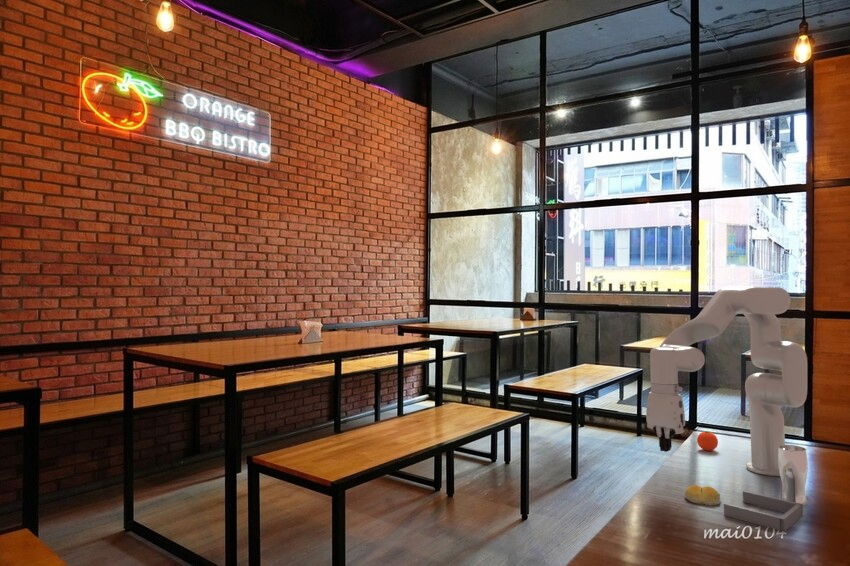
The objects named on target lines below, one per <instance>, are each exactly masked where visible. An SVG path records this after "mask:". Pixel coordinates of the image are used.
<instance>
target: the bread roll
mask: <svg viewBox="0 0 850 566" xmlns="http://www.w3.org/2000/svg"><path fill="white" fill-rule="evenodd" d="M684 497H685V498H686V500H688V501H690V503H691V502H692V503H694V504H697V505H699V504H700V505H704V504H705V506H716V505H719V504H720V503H721V494H720V492H718V490H716V489H715V488H713V487H712V486H704V487H702V486H700V485H696V484H695V485H690V486H688V487H687V488H686V489H685V491H684Z"/></svg>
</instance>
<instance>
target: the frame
mask: <svg viewBox="0 0 850 566" xmlns="http://www.w3.org/2000/svg"><path fill="white" fill-rule="evenodd" d="M742 502H743V503H746V504H749V505H754V506H757V505H758V506H757V507H761V508H766V509H770V510H773V511H777V512H782V513H784V514H783V515H782V516H778V515H774V514H771V513H767V512H763V511H758V510H755V509H751V508H747V507H743V506H739V505H736V504H731V503H727V502H724V503H723V516H725V517H729V518H733V519H737V520H741V521H744V522H747V523H752V524H755V525H758V526H762V527H765V528H766V527H767V528H769V527H771V528H770V529H773V528H774V529H773V530H776V531H781V532H786V531H788V529H789V528H790V527H792V526H793V525H794V524H795V523H796V522H797V521H798V520H799V519H801V518H802V517H803V516H804V514H803V511H804V510H803V506H802V504H800V503H796V502H791V501H787V500H783V499H781V498H778V497H774V496H769V495H765V494H761V493H756V492H753V491H749V490H743V491H742Z"/></svg>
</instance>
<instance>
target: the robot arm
mask: <svg viewBox="0 0 850 566" xmlns="http://www.w3.org/2000/svg"><path fill="white" fill-rule="evenodd" d="M791 301H792V300H791V296H790V293H789V292H788V291H787V290H786V289H784V288H782V287H779V286H769V287H768V286H767V287H766V286H765V287H764V286H763V287H761V286H725V287H722V288H720V289H718V290H717V291H716V292H715V293H714V295H712V297H710V300H708V302H707V303H706V305H705V306H704V307H703V308H702V309H701V311H700V312H699V314H698V315H697V316H696V317H695V318H693V319H691V320H689V321H687V322H686V323H683V324H682V325H680V326H679V327H677V328H676V329H674V330H672V331H671V332H670V333H669V334H668V335H667V336H666V338H665V339H664V340H663V342H662V343H661V344H660V345H659V347H653V348H651V350H650V352H649V355H650V356H649V358H650V359H649V362H650V363H649V365H650V367H649V368H650V371H649V372H650V391H649V392H648V396H647V400H646V401H647V402H646V408H645V409H646V411H645V412H646V413H645V415H646V416H645V417H646V423H647V424H646V427H647V428H648V429H651V430H653V431H654V432H655V434H656V435H657V437H658V443H659V444H658V445H659V450H660V451H661V452H664V453H666V452H669V451H671V450H672V445H673V444H672V438H674V436H675V435H679V434H684V432H685V431H684V427H685V426H686V415H685V405H684V402H683V397H682V394H680V392H681V393H683V391H684V390H683V387H682V386H679V379H678V378H679V374H678V373H679V372H690V373H693V372H696V371H699V370H700V369H702V368H703V366H704V365H705V355H704V353H703V351H701V349H699V348H696V347H693V346H691V345H693V344H696V343H698V342H703V341H707V340H710V339H713V338H716V337H718V336H720V335H722V333H724V331H725V329H726V328H727V327H728V326H729V324H730V323H731V322H732V321H733V319H734V318H735V316H737V315H744V317H745V318H746V320H747V322H748V323H749V328H750V330H749V331H750V360H751V363H752V364H753V366H754V367H757V368H760V369H764V370H772V371H778V372H781V374H774V373H768V372H756V373H752V374H751V375H748V377H747V378H746V379H745V382H744V384H745V385H744V390H745V393H746V397H747V403H748V407H749V424H750V425H749V432H750V455H751V456H750V458H751V461H749V462H747V463H746V464H745V466H746V469H747V470H748V471H750V472H753V473H755V474H759V475H764V476H770V477H771V476H772V477H780V472H779V467H778V446H779V445H786V441H785V440H786V437H785V418H784V417H785V416H784V414H783V411H782V409H781V407H786V408H799V407H802V406H803V405H804V403H805V402H806V400H807V396H808V356H807V353H806V350H805V349H804V347H803V346H801V345H800V344H799V343H797V342H794V341H793V342H792V341H784V340H782V331H781V330H782V329H781V327H782V326H781V323H780V321H779V319H778V317H777V315H780V314H783V313H785V312H786V311H787V310H789V308H790V306H791V303H792V302H791ZM780 406H781V407H780Z"/></svg>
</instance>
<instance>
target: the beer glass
mask: <svg viewBox="0 0 850 566" xmlns="http://www.w3.org/2000/svg"><path fill="white" fill-rule="evenodd" d="M808 460H809V459H808V454H807V448H805V447H803V446H801V445H800V446H799V445H794V444H785V445H779V446H778V467H779V472H780V476H779V477H780V481H781V486H782V490H781V491H782V492H781V497H780V499H783V500H787V501H791V502H796V503H800V504H802V507H803V506H804V505H805V506H807V505H808V500H807V495H806V486H807V478H808V470H809V463H808Z"/></svg>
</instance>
